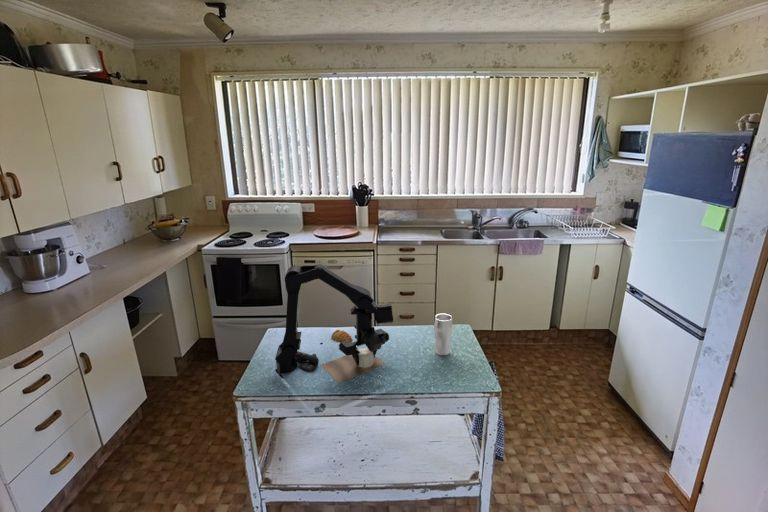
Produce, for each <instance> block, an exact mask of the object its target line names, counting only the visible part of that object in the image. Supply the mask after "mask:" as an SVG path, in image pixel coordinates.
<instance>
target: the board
mask: <svg viewBox="0 0 768 512" xmlns="http://www.w3.org/2000/svg"><path fill="white" fill-rule="evenodd" d="M386 364H387V363H386V362H385V361H383V360H382V359H381V358H379V357H378V356H377V355H375V357H374V364H373V365H372V366H370V367H366V368H362V367H359V366H358V365H356V363H355V361H354V359H353V357H352V355H343V356H341V357H338V358H335V359H333V360H330V361H327V362H325V363H321V364H320V367H322V368H323V370H325V371H326V372H327V373H328V374H329V375H330V376H331V377H332V378H333V380H335V381H336V382H337V383H338V384H341V383H343V382H346V381H348V380H350V379H353V378H355V377H357V376H360V375H362V374H365V373H368V372H370V371H372V370H374V369H377V368H379V367H383V366H384V365H386Z"/></svg>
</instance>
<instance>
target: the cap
mask: <svg viewBox="0 0 768 512" xmlns="http://www.w3.org/2000/svg"><path fill="white" fill-rule="evenodd" d="M358 351H360V353H359V365H358V366H359V367H362V368H366V367H370V366H372V365H373V364H374V355H373V352H371V351H369V349H368V348H367V347H366V348H365V347H362V348H358Z"/></svg>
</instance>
